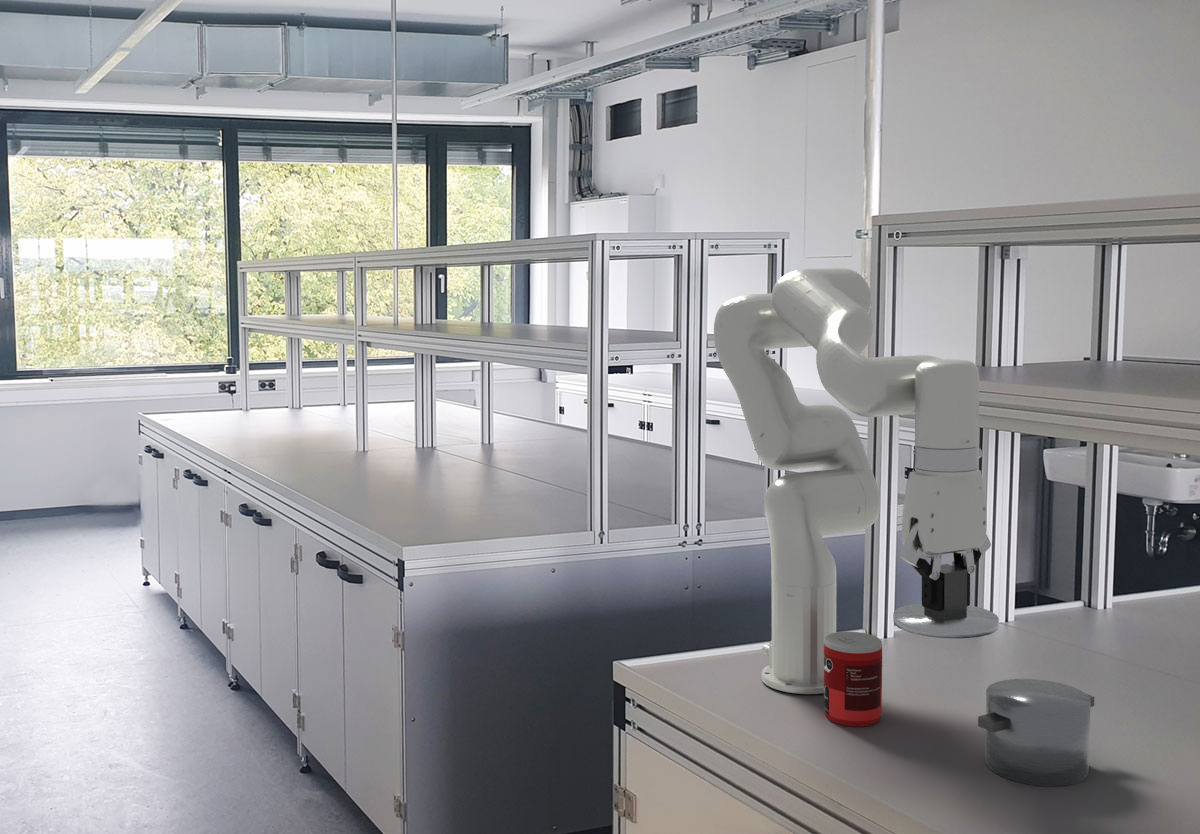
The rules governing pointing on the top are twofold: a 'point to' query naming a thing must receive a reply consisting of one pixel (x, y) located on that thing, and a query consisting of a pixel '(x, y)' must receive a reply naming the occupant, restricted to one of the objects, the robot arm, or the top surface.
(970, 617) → the lid
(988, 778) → the top surface
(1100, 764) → the top surface
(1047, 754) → the pot
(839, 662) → the canned food
